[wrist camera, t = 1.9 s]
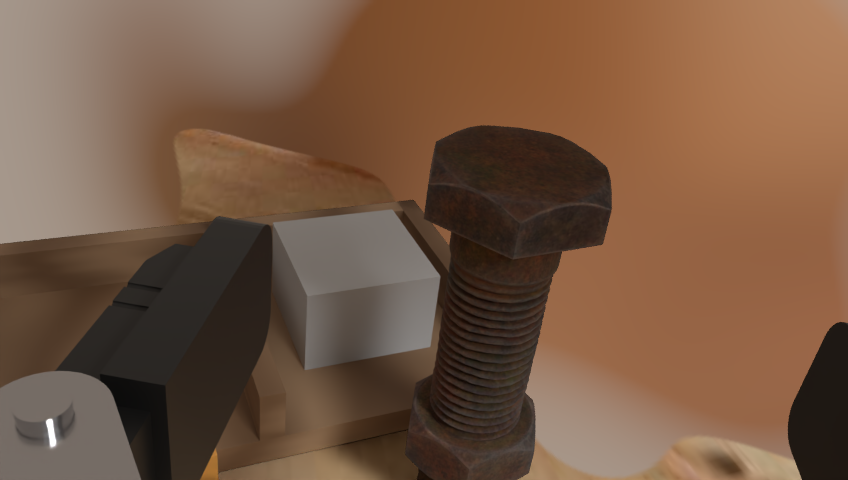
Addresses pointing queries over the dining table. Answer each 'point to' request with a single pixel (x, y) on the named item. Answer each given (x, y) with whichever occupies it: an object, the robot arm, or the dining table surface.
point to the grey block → (352, 287)
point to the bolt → (498, 290)
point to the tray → (277, 365)
